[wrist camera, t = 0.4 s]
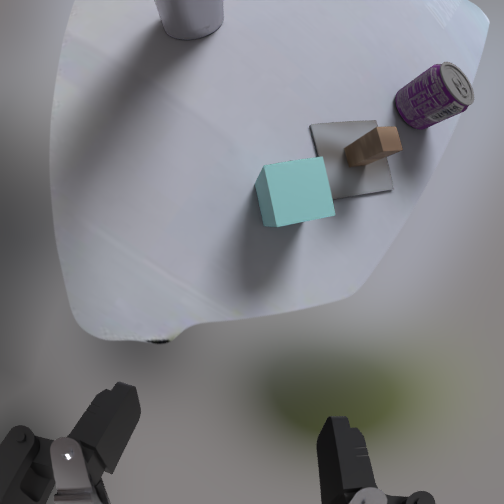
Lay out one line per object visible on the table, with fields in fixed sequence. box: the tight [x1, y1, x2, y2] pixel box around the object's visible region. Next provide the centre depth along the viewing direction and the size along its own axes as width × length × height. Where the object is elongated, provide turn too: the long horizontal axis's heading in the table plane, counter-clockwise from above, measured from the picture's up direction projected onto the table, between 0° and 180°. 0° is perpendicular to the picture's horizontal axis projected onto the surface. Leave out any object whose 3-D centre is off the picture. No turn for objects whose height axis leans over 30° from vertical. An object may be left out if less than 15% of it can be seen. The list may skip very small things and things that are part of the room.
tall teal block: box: [255, 156, 335, 227], centre depth 27 cm, size 5×5×11 cm
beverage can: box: [395, 62, 474, 130], centre depth 26 cm, size 7×7×12 cm
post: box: [310, 120, 403, 199], centre depth 28 cm, size 10×10×10 cm
